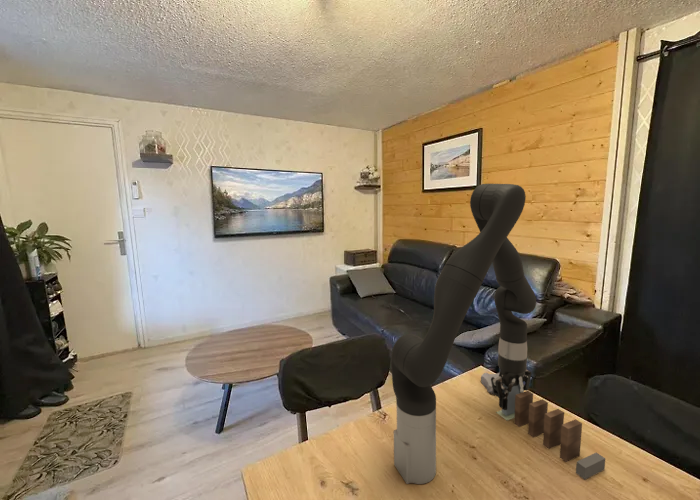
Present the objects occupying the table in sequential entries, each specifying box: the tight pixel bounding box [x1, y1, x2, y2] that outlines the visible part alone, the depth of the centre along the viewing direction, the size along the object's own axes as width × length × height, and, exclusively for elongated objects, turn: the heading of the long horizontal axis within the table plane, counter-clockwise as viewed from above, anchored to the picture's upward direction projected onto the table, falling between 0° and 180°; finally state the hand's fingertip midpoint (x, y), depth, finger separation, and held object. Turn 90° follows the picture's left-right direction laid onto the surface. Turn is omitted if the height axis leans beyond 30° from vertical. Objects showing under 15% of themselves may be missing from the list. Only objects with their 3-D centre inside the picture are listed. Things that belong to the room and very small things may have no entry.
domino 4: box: [542, 408, 565, 450], centre depth 82 cm, size 5×2×9 cm, turn 111°
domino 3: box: [527, 398, 549, 438], centre depth 86 cm, size 5×2×9 cm, turn 111°
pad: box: [495, 409, 515, 421], centre depth 95 cm, size 7×4×1 cm, turn 111°
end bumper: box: [575, 452, 606, 480], centre depth 74 cm, size 7×2×3 cm, turn 111°
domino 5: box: [559, 418, 583, 463], centre depth 78 cm, size 5×2×9 cm, turn 111°
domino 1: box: [501, 384, 520, 416], centre depth 94 cm, size 5×2×9 cm, turn 111°
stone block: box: [480, 372, 500, 395], centre depth 108 cm, size 12×5×10 cm
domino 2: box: [513, 390, 534, 428], centre depth 90 cm, size 5×2×9 cm, turn 111°
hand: (510, 405), depth 95 cm, fingers closed on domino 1, 5 cm apart
